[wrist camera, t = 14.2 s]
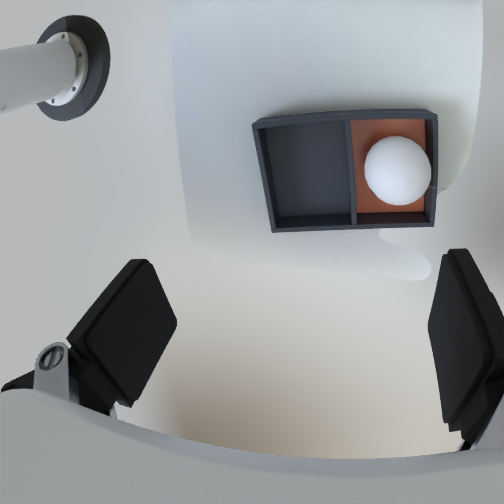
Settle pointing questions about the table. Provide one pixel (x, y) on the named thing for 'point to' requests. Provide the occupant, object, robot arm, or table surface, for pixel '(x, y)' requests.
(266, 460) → the robot arm
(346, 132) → the tray
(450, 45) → the table surface
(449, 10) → the table surface
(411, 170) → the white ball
